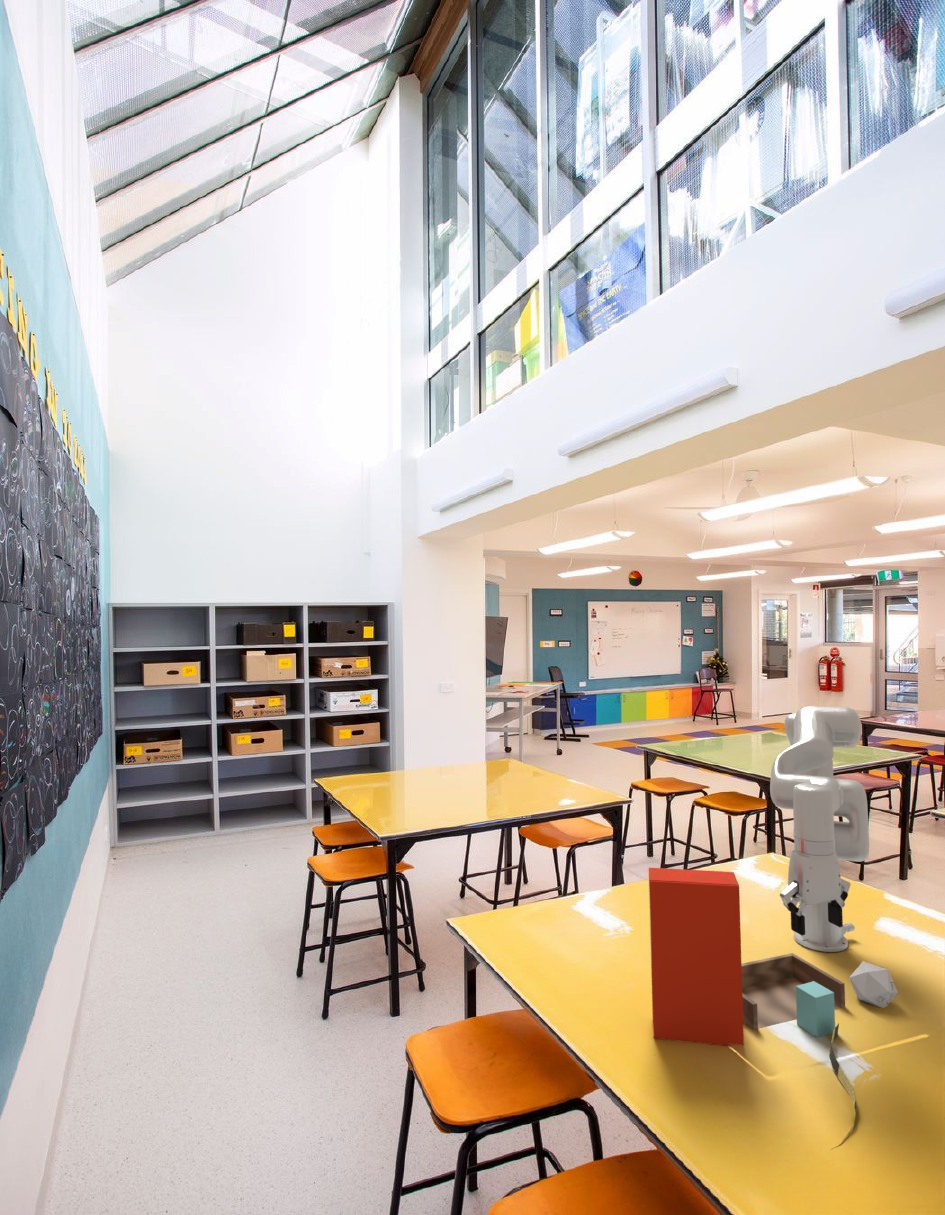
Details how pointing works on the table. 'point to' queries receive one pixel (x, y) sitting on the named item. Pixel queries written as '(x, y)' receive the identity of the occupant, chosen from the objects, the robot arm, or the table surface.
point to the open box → (780, 988)
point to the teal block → (815, 1008)
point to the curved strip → (841, 1074)
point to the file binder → (696, 956)
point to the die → (873, 984)
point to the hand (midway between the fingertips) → (817, 928)
